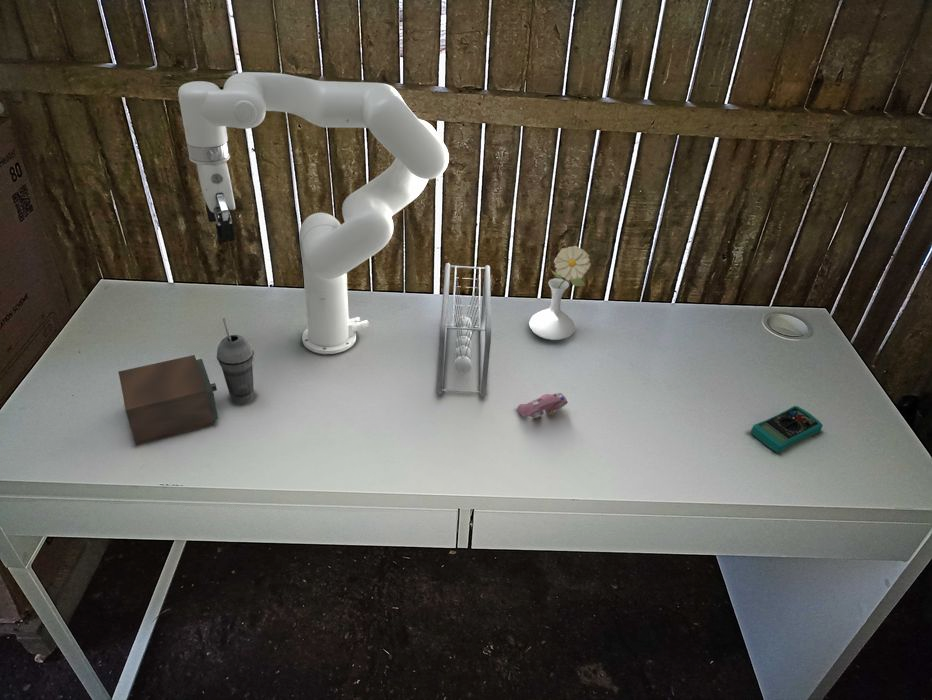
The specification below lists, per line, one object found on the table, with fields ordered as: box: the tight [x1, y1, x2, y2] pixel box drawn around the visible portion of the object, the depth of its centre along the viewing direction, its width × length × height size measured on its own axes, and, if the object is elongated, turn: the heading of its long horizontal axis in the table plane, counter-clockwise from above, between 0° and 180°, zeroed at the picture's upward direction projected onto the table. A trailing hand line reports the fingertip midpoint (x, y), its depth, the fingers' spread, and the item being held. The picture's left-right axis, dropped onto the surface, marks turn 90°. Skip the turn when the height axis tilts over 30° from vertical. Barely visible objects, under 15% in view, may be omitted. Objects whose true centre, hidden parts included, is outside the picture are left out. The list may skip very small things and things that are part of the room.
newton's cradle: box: [436, 262, 492, 398], centre depth 163 cm, size 30×10×18 cm, turn 179°
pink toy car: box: [517, 392, 569, 419], centre depth 152 cm, size 10×5×7 cm, turn 117°
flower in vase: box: [528, 245, 591, 341], centre depth 171 cm, size 13×11×25 cm
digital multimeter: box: [750, 405, 824, 454], centre depth 152 cm, size 7×15×3 cm, turn 122°
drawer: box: [196, 358, 219, 421], centre depth 145 cm, size 15×11×7 cm
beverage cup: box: [216, 317, 255, 406], centre depth 146 cm, size 7×7×20 cm
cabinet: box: [118, 354, 214, 446], centre depth 144 cm, size 15×13×9 cm
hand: (221, 230), depth 148 cm, fingers open, 9 cm apart
